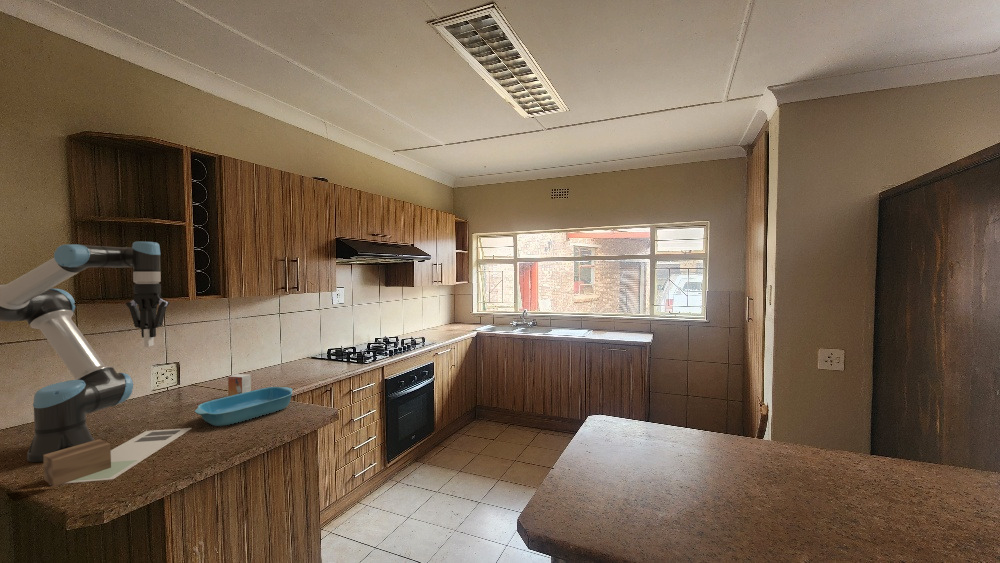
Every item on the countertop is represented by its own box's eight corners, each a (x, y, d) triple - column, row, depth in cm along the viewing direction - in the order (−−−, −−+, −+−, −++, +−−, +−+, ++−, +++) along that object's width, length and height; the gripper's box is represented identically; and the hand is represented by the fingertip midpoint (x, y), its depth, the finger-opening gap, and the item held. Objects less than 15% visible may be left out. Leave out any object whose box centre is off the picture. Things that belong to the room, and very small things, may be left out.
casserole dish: (207, 434, 146) (206, 416, 146) (186, 422, 159) (186, 405, 158) (302, 406, 176) (302, 391, 176) (279, 398, 189) (278, 383, 189)
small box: (228, 397, 189) (227, 376, 189) (237, 394, 195) (237, 373, 195) (242, 398, 188) (241, 377, 188) (251, 394, 194) (250, 374, 193)
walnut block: (44, 479, 113) (43, 454, 113) (100, 461, 123) (99, 438, 123) (54, 486, 109) (53, 460, 109) (111, 467, 120) (110, 443, 120)
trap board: (48, 486, 110) (48, 484, 110) (146, 432, 148) (146, 430, 148) (113, 481, 113) (112, 479, 113) (192, 429, 151) (192, 427, 150)
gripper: (173, 282, 147) (175, 343, 148) (135, 283, 145) (136, 344, 145) (160, 283, 140) (161, 347, 140) (119, 283, 138) (120, 348, 138)
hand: (149, 346), depth 143 cm, fingers closed
